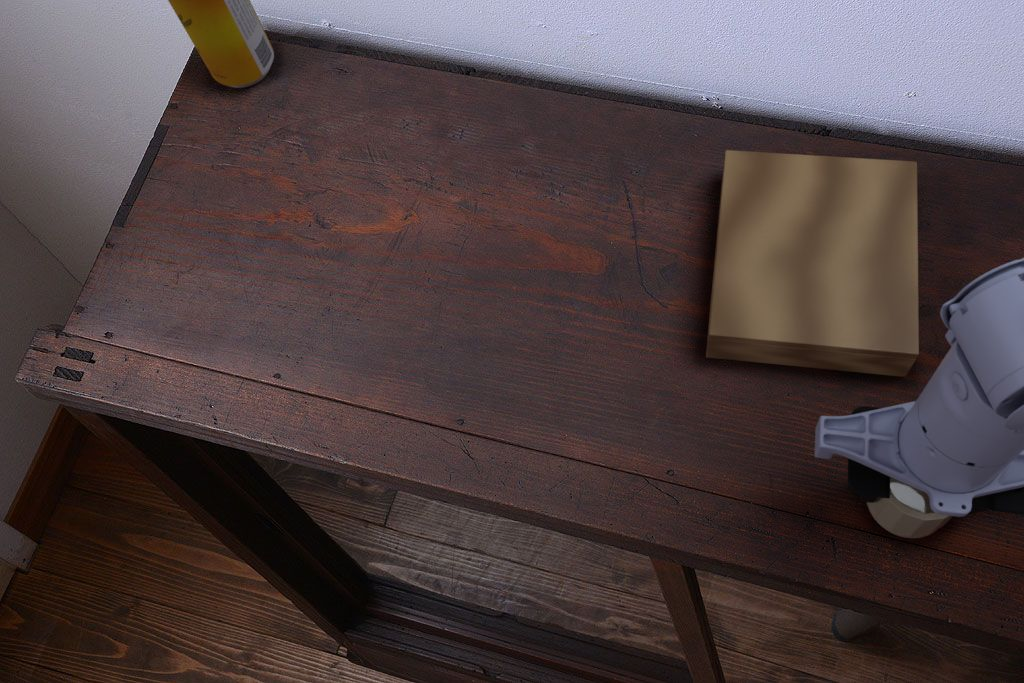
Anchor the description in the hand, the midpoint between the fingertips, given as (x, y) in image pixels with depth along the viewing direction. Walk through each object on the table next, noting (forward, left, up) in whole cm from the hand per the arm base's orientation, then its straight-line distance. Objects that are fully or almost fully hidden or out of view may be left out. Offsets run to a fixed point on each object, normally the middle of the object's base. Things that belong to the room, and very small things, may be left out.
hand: (911, 493), depth 64 cm
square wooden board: (+7, -17, -1) cm, 18 cm away
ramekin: (0, 0, -1) cm, 1 cm away
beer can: (+58, -34, -2) cm, 67 cm away
